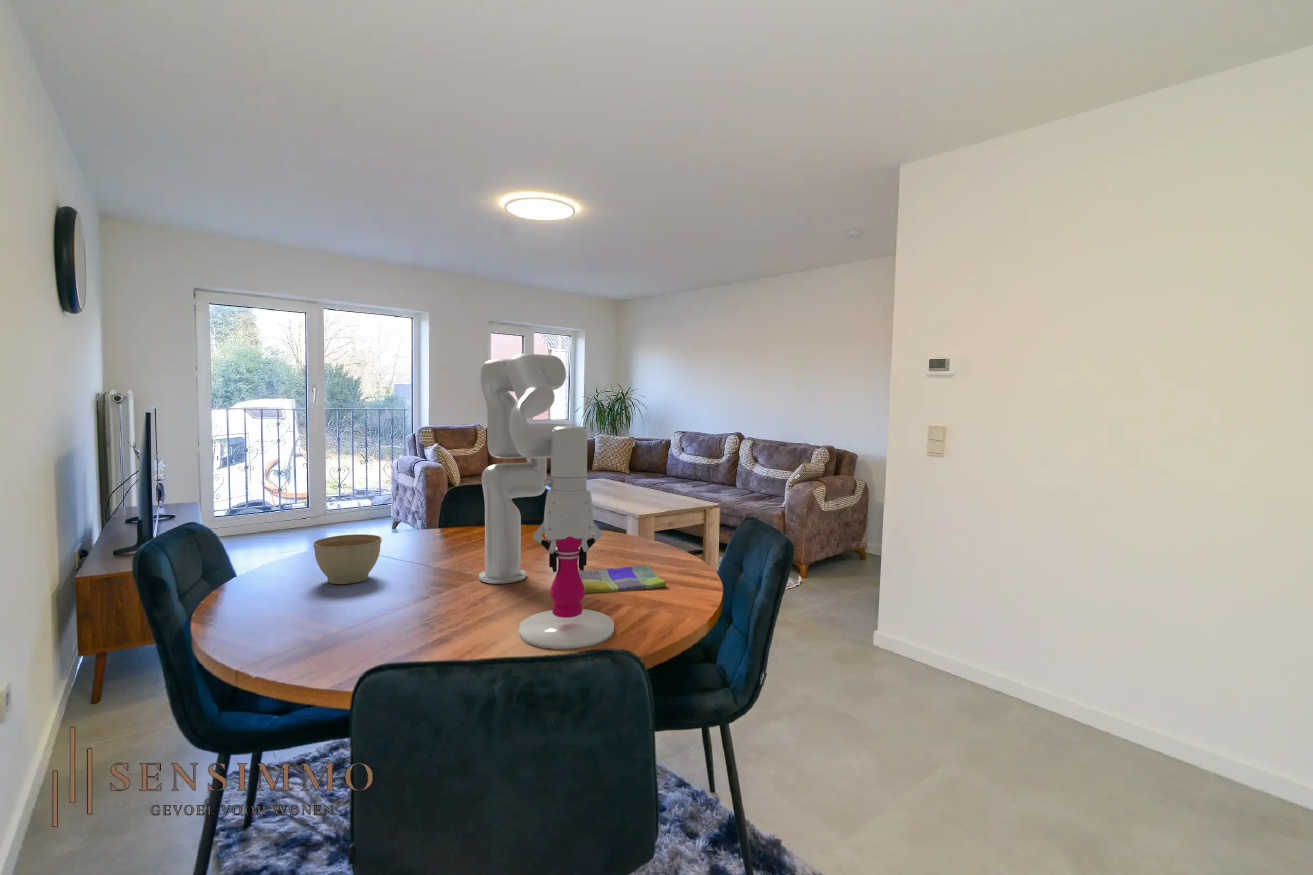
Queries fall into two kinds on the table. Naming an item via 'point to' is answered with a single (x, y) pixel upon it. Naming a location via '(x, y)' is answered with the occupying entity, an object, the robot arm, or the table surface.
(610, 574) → the dish towel
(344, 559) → the planter bowl
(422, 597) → the table surface
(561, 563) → the pepper mill
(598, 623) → the disc
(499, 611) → the table surface
